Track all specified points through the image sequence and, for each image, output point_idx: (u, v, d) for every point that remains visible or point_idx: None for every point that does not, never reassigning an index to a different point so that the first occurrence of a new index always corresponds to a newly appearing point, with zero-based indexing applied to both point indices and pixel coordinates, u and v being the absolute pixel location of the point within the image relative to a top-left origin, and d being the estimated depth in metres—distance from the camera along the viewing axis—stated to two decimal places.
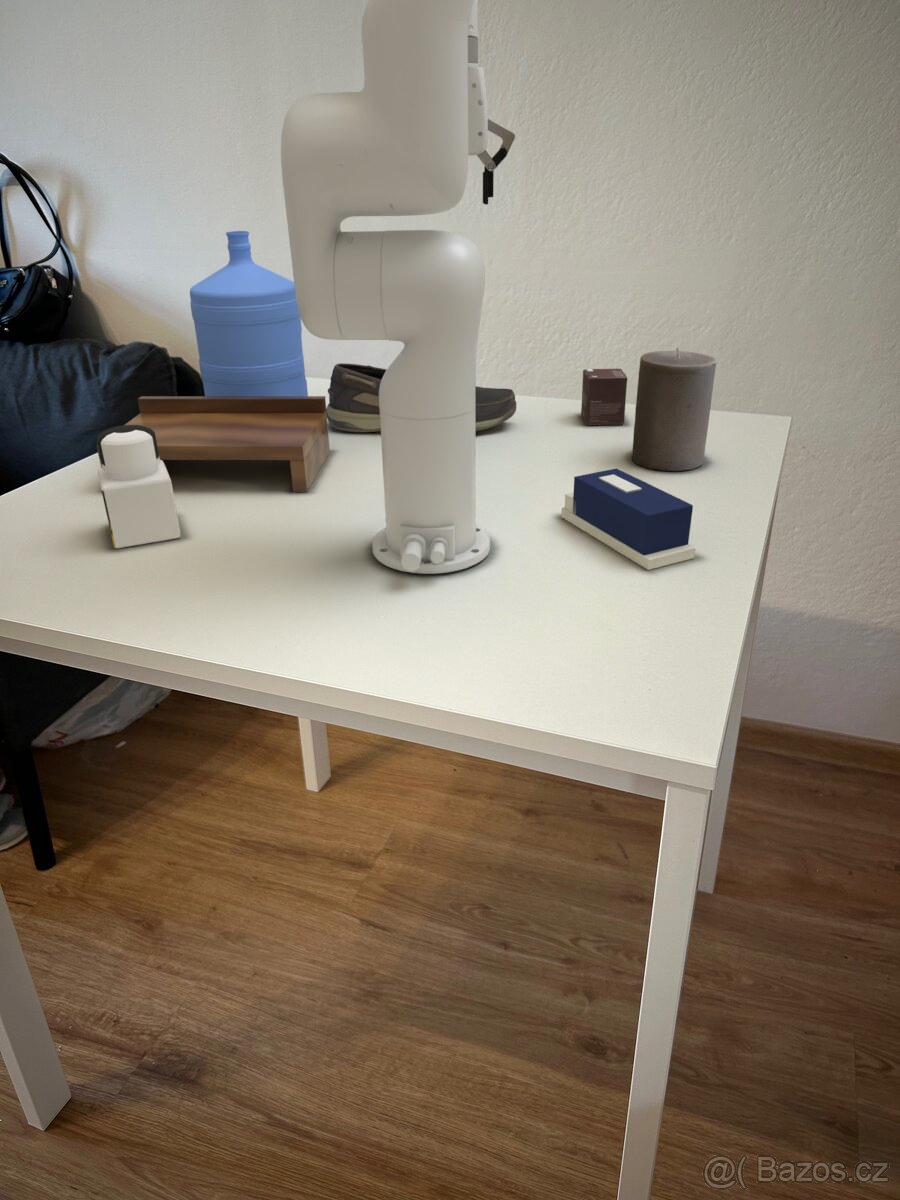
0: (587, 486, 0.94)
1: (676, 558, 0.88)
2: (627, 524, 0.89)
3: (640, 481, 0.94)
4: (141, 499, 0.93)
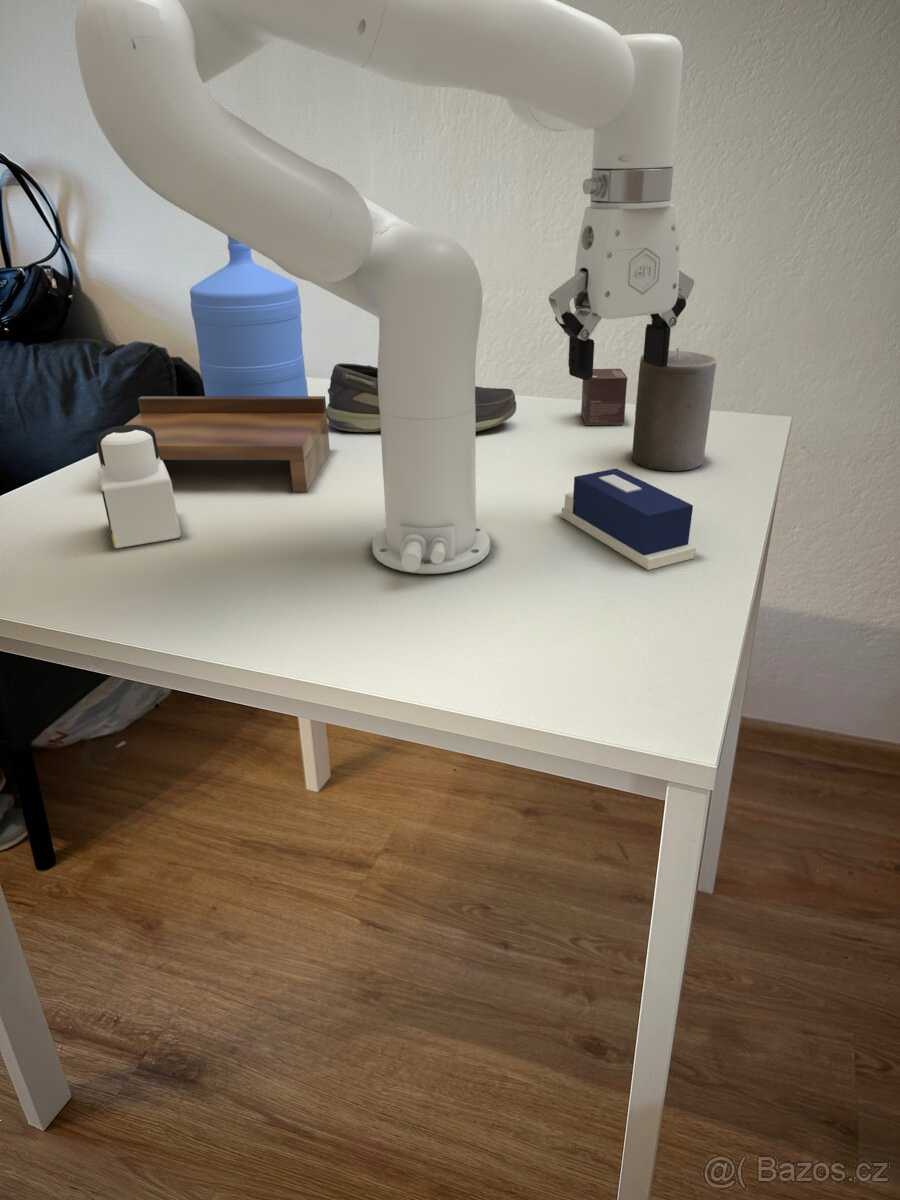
0: (587, 486, 0.94)
1: (676, 558, 0.88)
2: (627, 524, 0.89)
3: (640, 481, 0.94)
4: (141, 499, 0.93)
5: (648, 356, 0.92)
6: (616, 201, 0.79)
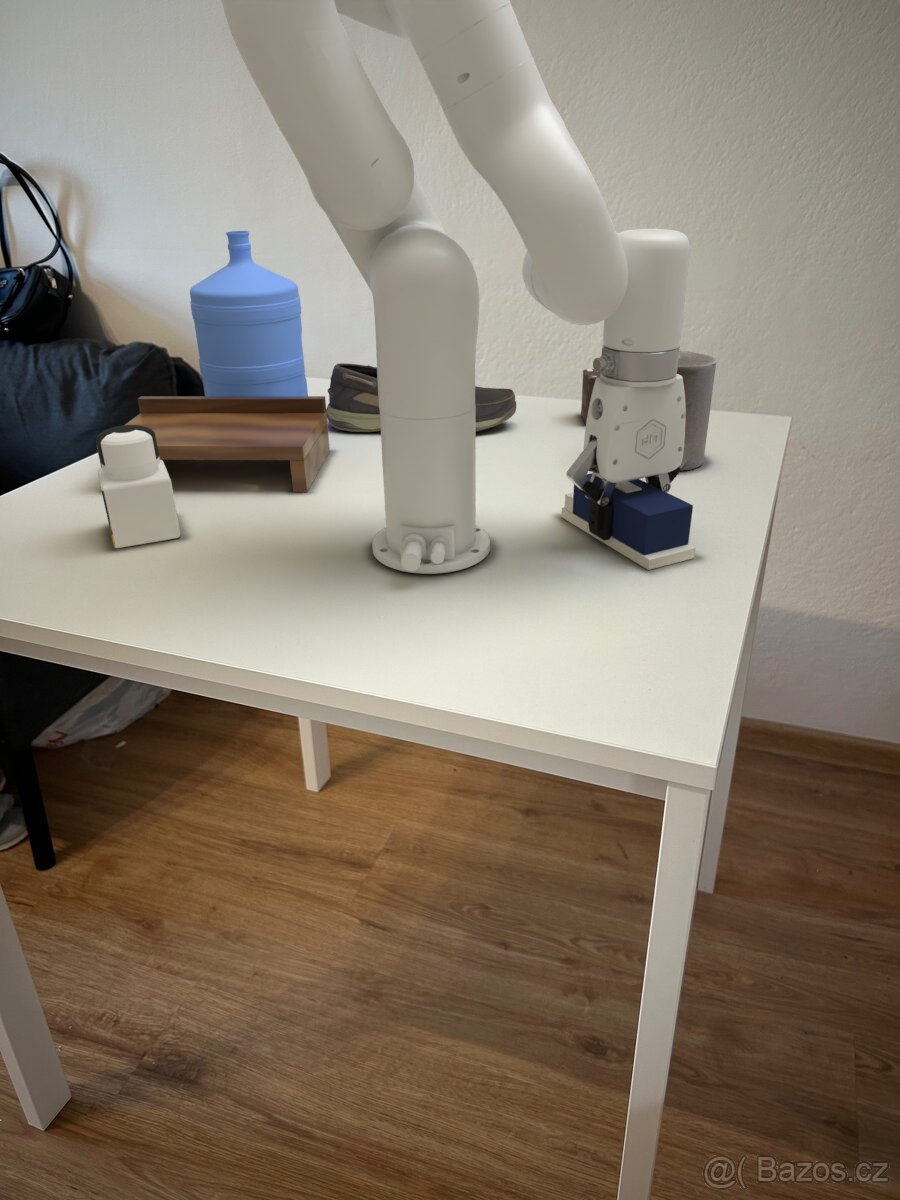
0: None
1: (676, 558, 0.88)
2: (627, 524, 0.89)
3: (640, 481, 0.94)
4: (141, 499, 0.93)
5: None
6: (624, 379, 0.84)
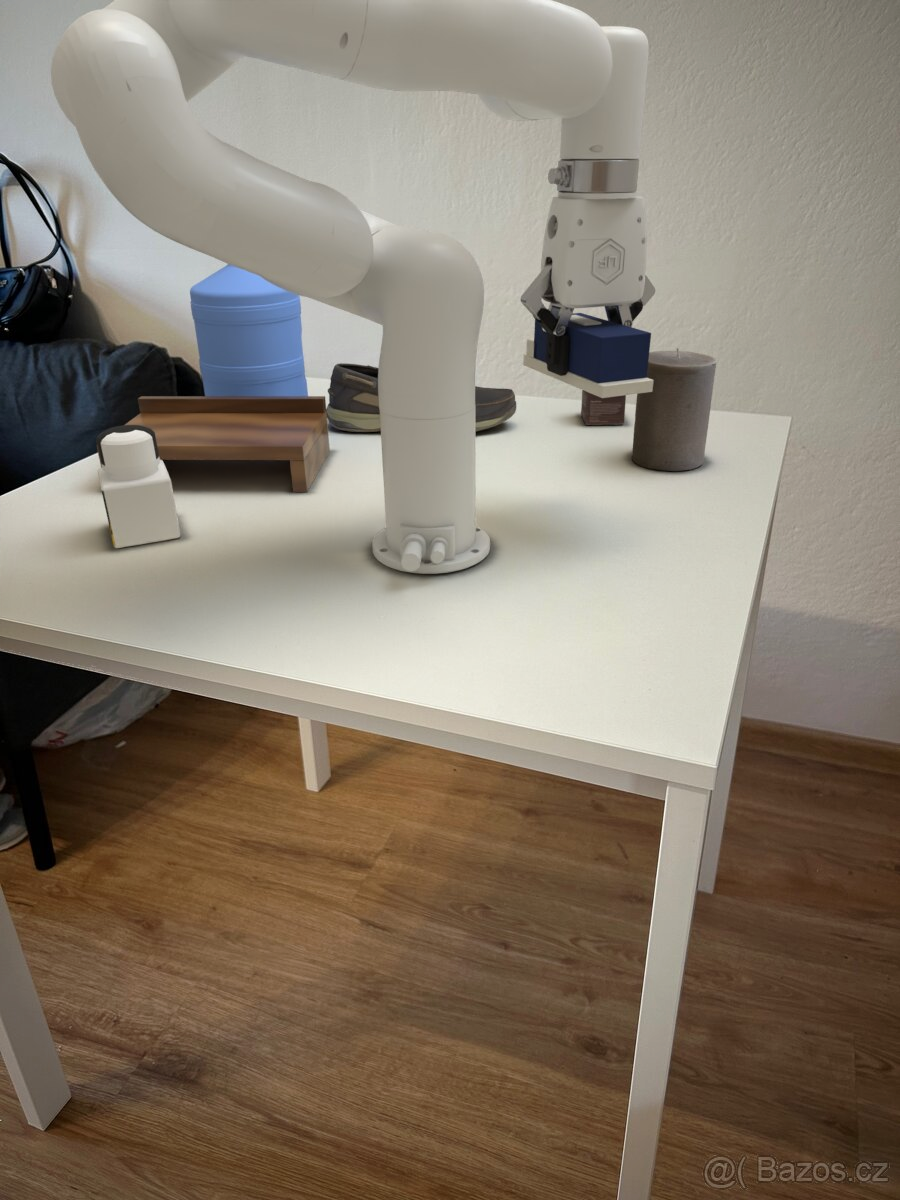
0: None
1: (632, 389, 0.85)
2: (583, 353, 0.86)
3: (602, 319, 0.91)
4: (141, 499, 0.93)
5: None
6: (579, 191, 0.81)
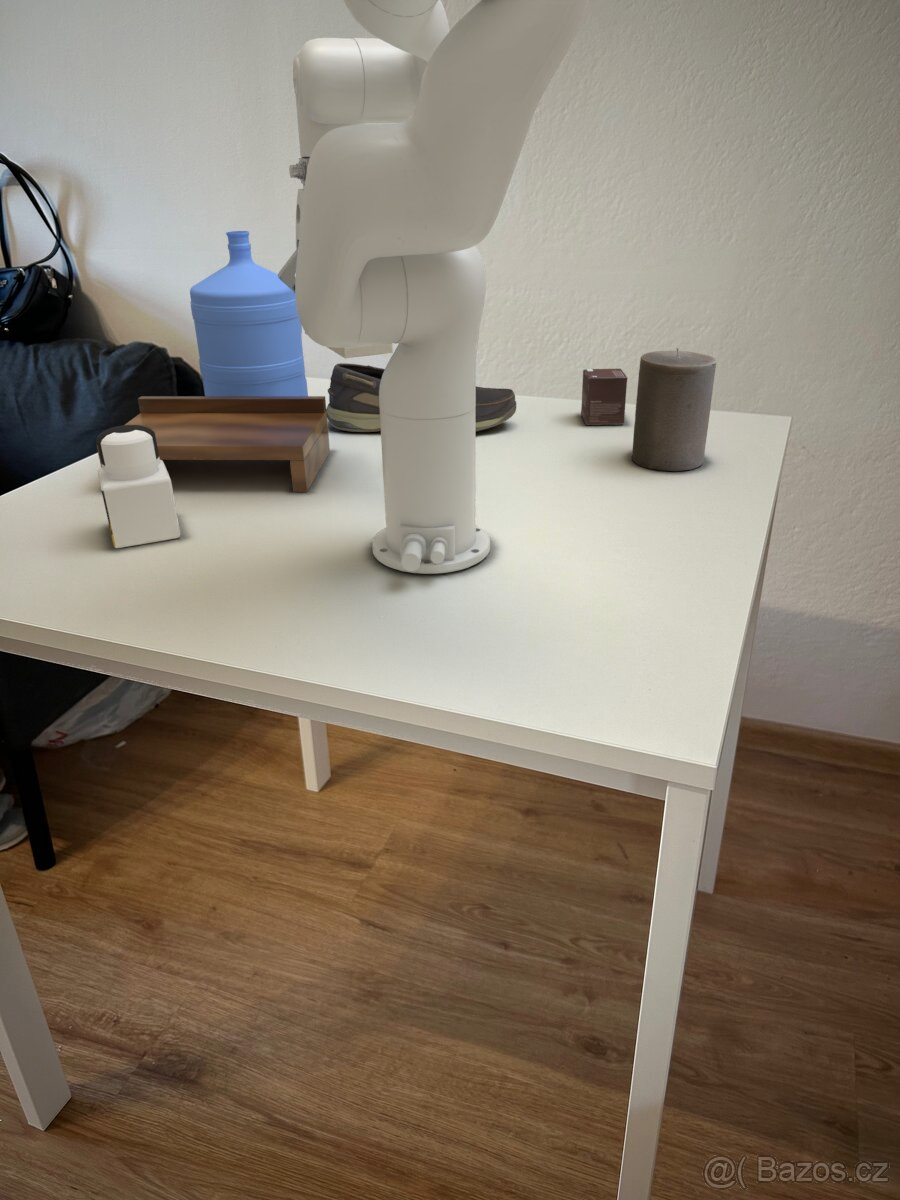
0: None
1: (373, 350, 1.01)
2: None
3: None
4: (141, 499, 0.93)
5: None
6: None
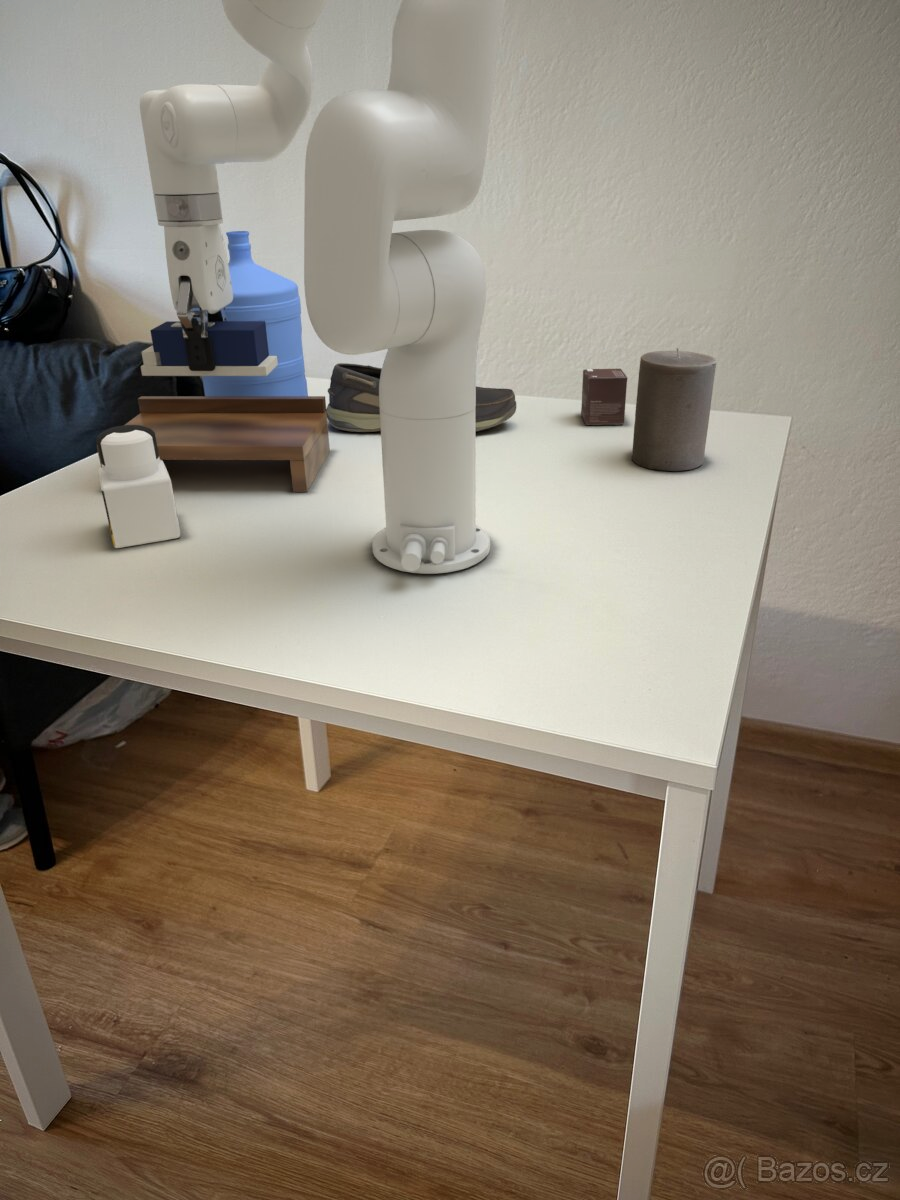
0: (171, 332, 1.06)
1: (273, 365, 1.11)
2: (232, 346, 1.06)
3: None
4: (141, 499, 0.93)
5: None
6: (197, 219, 1.00)
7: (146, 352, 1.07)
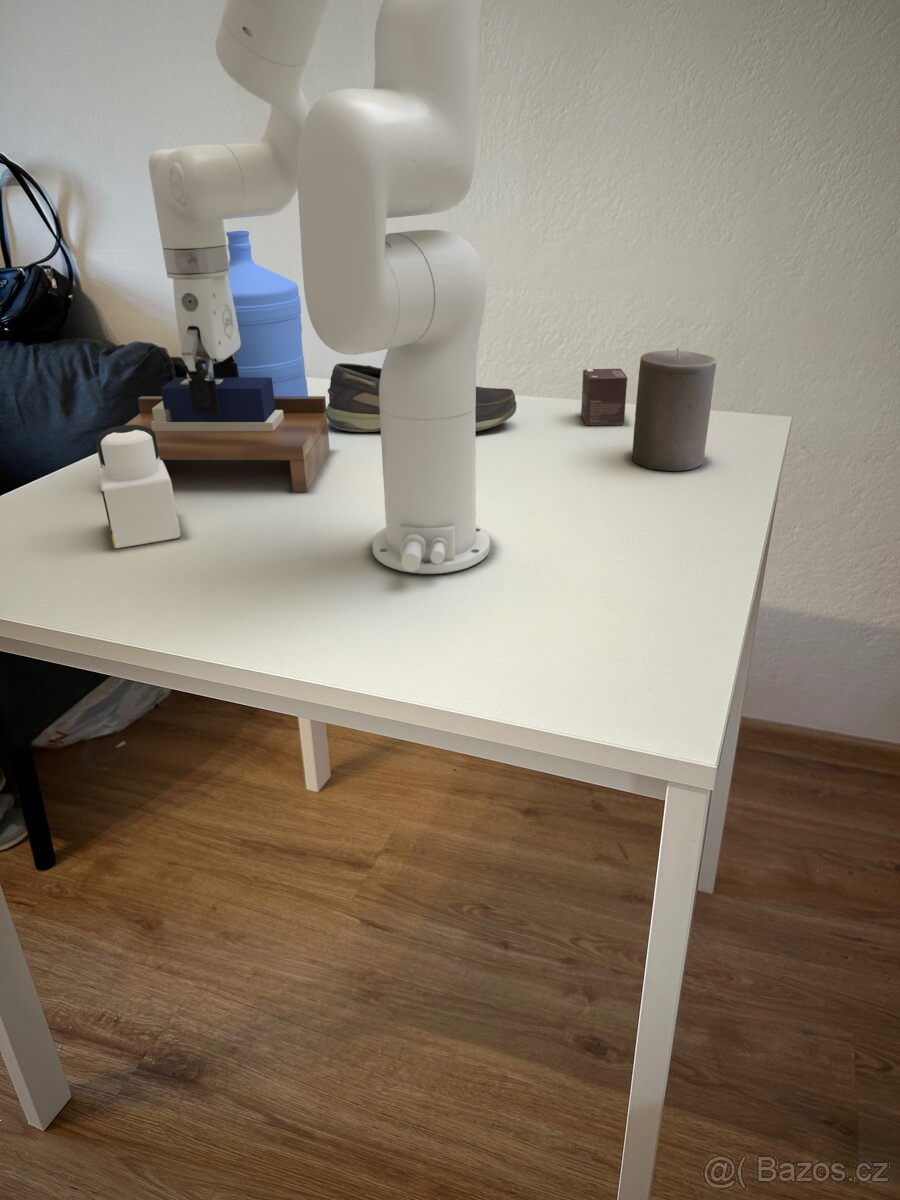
0: (181, 390, 1.09)
1: (279, 419, 1.14)
2: (239, 404, 1.10)
3: None
4: (141, 499, 0.93)
5: None
6: (205, 272, 1.02)
7: (156, 409, 1.11)
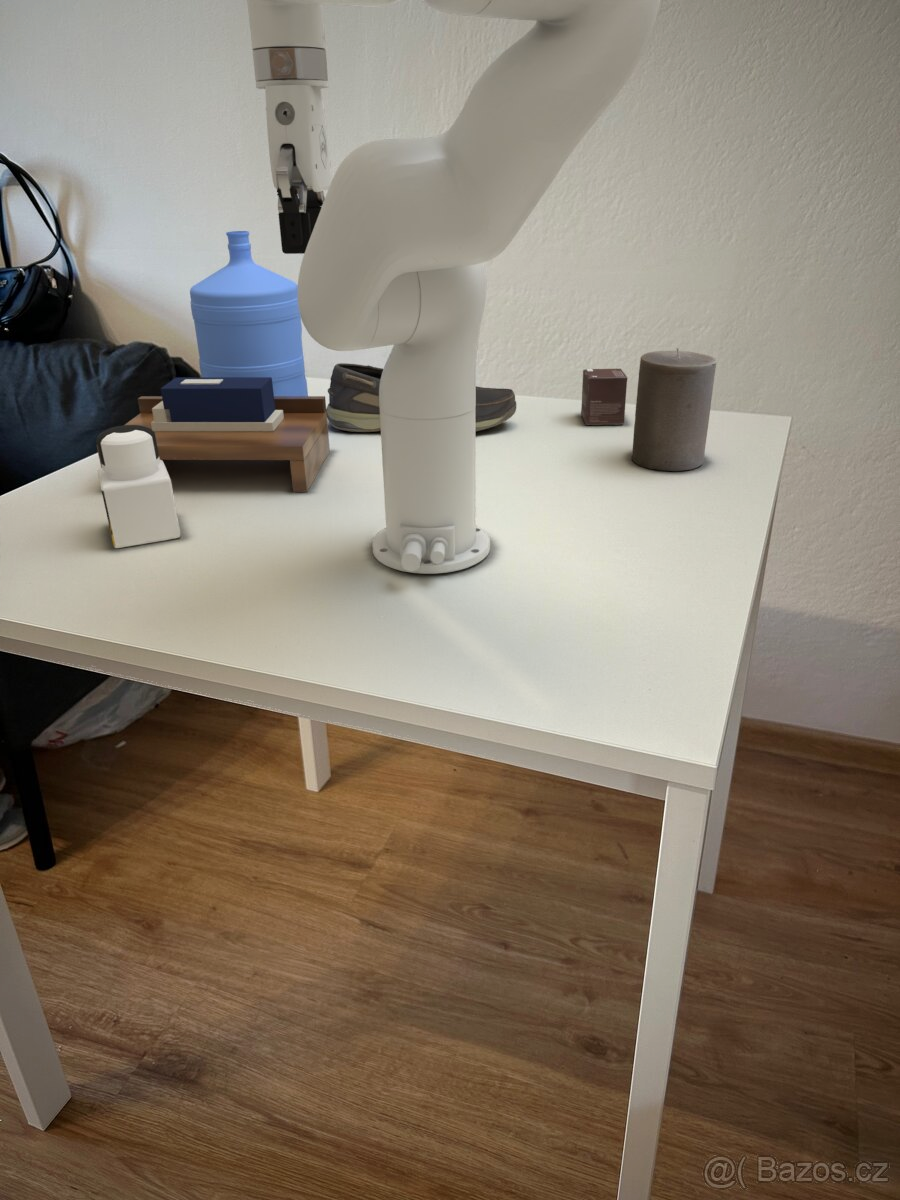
0: (181, 390, 1.09)
1: (279, 419, 1.14)
2: (239, 404, 1.10)
3: (210, 378, 1.14)
4: (141, 499, 0.93)
5: None
6: (304, 78, 0.87)
7: (156, 409, 1.11)
